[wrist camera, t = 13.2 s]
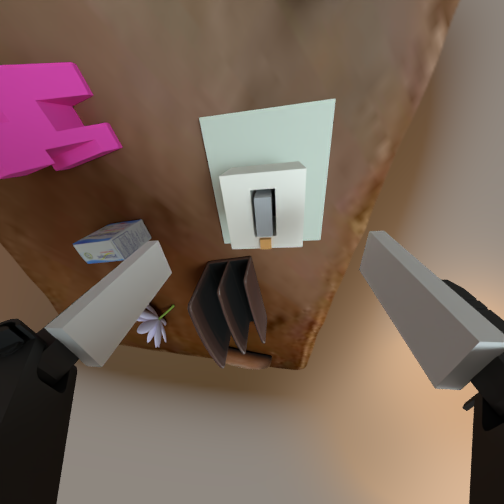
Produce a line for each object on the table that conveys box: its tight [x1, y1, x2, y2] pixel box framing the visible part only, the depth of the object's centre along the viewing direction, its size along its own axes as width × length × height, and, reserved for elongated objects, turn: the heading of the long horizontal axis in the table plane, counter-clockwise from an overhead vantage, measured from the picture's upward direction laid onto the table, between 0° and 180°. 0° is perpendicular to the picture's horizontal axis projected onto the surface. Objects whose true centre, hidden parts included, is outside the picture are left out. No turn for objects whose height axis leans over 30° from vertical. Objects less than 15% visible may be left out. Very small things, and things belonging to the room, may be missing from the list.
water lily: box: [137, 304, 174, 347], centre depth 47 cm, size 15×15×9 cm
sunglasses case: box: [226, 348, 272, 369], centre depth 58 cm, size 18×7×7 cm
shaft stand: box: [199, 99, 335, 244], centre depth 24 cm, size 20×18×15 cm
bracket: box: [0, 62, 123, 179], centre depth 24 cm, size 12×10×10 cm
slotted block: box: [219, 161, 307, 249], centre depth 21 cm, size 8×8×6 cm
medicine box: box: [73, 219, 151, 264], centre depth 35 cm, size 8×4×9 cm, turn 100°
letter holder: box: [188, 256, 267, 368], centre depth 38 cm, size 10×20×14 cm, turn 12°
